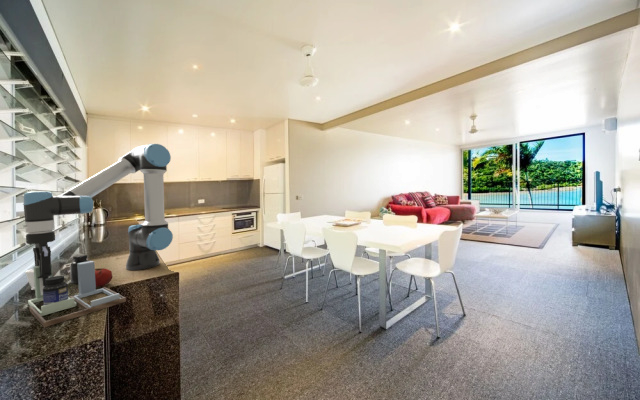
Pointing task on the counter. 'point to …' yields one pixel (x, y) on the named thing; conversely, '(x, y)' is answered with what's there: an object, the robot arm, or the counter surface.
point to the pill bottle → (55, 290)
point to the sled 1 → (53, 306)
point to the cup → (31, 278)
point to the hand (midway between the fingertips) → (44, 292)
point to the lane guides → (76, 314)
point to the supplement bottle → (74, 266)
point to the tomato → (102, 276)
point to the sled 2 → (91, 285)
